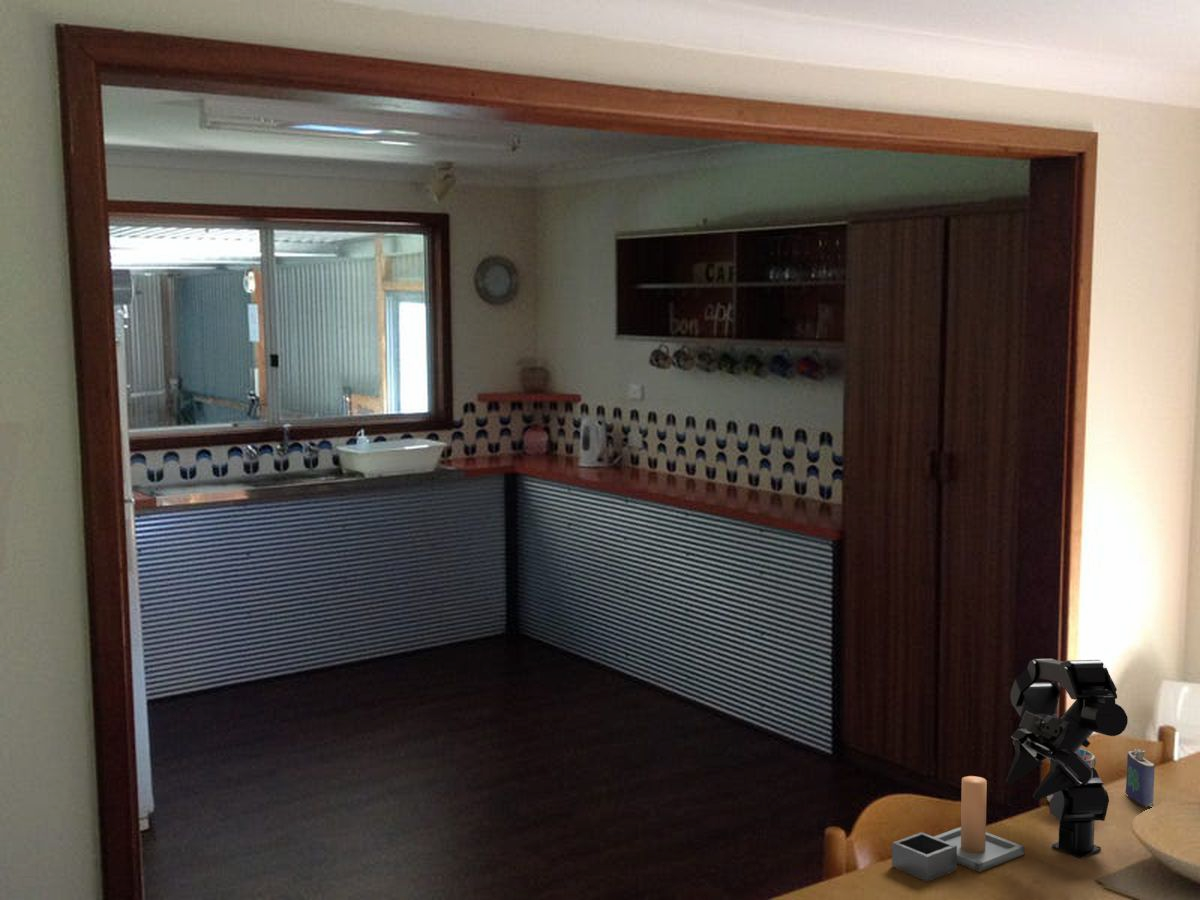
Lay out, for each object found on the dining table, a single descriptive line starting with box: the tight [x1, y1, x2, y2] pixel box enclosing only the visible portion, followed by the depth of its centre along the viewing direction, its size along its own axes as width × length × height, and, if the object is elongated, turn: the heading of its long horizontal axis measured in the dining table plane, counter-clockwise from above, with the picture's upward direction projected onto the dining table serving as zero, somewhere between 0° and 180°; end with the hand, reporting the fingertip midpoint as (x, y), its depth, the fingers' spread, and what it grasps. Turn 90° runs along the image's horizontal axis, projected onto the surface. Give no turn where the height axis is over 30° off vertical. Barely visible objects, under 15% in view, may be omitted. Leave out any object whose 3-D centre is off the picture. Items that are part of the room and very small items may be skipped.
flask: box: [1124, 748, 1156, 809], centre depth 263 cm, size 9×3×11 cm, turn 2°
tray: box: [933, 826, 1025, 873], centre depth 239 cm, size 13×13×2 cm
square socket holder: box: [891, 831, 958, 883], centre depth 232 cm, size 8×8×4 cm
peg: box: [960, 775, 988, 853], centre depth 238 cm, size 4×4×13 cm
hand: (1021, 790), depth 232 cm, fingers open, 9 cm apart
